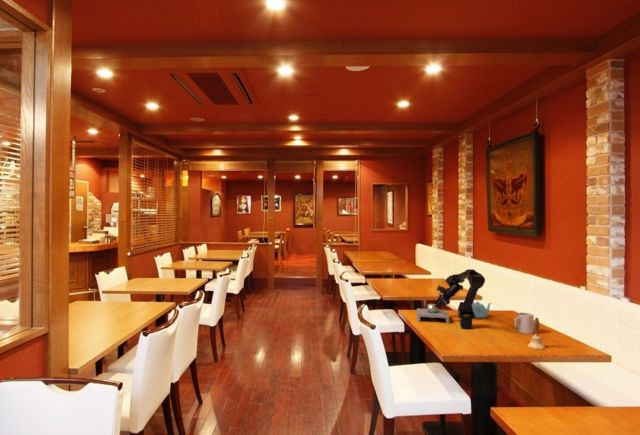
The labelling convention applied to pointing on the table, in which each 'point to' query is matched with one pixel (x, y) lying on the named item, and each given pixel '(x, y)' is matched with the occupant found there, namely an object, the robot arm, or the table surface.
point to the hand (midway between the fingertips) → (435, 305)
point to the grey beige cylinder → (431, 309)
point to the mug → (525, 323)
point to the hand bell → (536, 337)
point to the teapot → (480, 310)
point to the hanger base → (433, 314)
